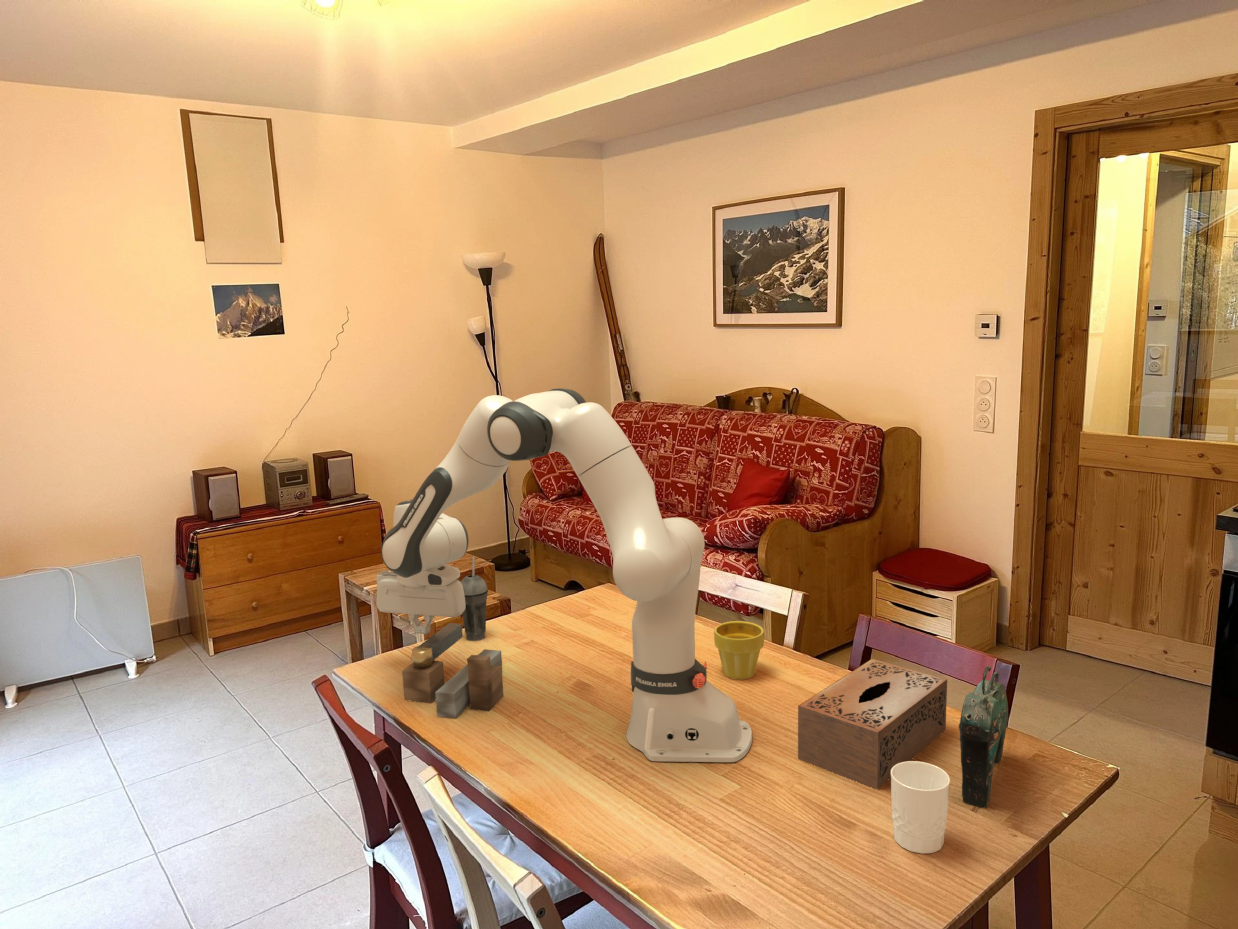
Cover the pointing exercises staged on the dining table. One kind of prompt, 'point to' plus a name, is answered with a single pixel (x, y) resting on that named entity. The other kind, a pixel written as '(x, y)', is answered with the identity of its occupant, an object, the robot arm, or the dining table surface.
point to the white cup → (919, 805)
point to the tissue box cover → (871, 721)
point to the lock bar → (436, 645)
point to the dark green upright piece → (982, 738)
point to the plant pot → (739, 647)
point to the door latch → (457, 684)
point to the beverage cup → (474, 606)
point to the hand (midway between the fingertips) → (422, 632)
